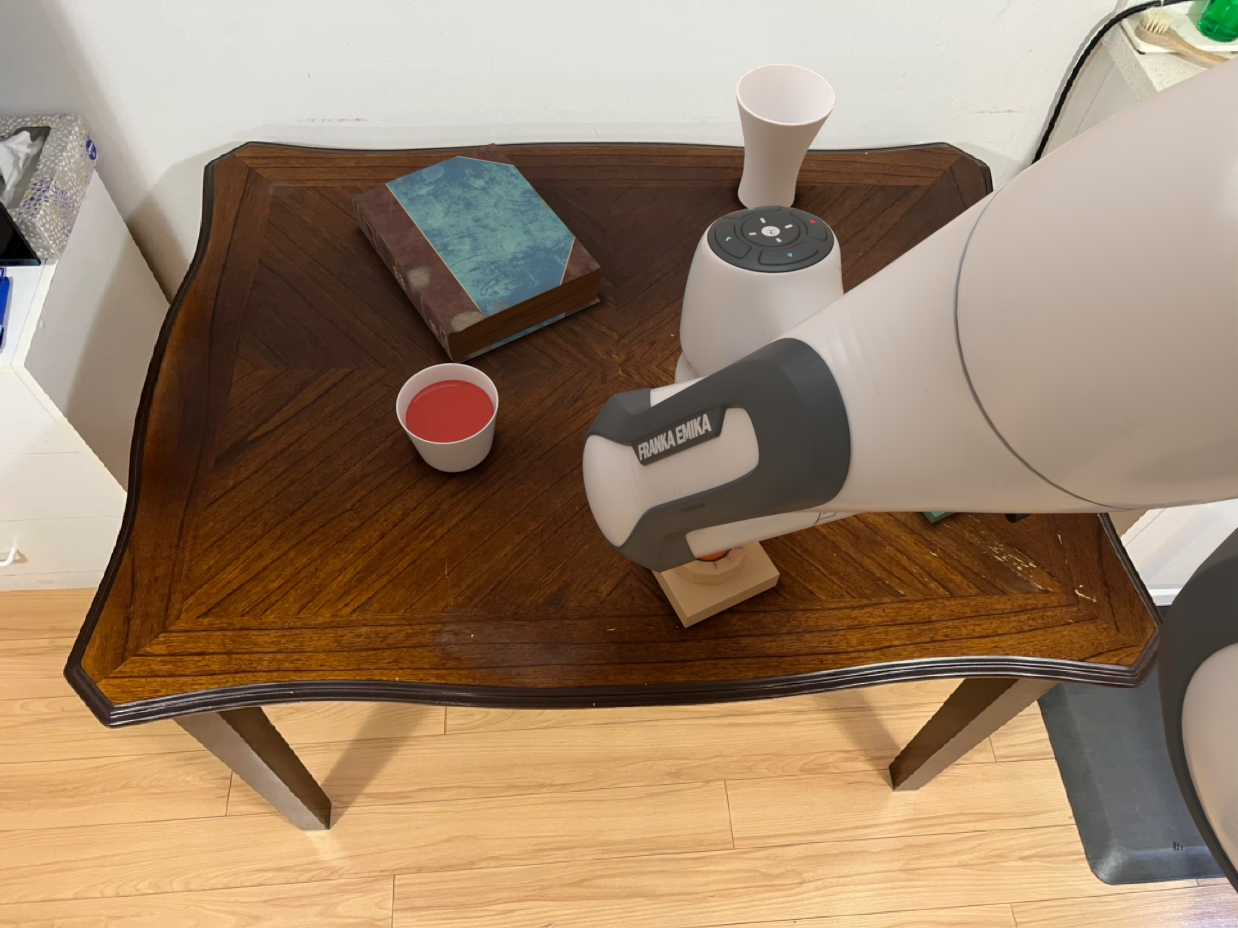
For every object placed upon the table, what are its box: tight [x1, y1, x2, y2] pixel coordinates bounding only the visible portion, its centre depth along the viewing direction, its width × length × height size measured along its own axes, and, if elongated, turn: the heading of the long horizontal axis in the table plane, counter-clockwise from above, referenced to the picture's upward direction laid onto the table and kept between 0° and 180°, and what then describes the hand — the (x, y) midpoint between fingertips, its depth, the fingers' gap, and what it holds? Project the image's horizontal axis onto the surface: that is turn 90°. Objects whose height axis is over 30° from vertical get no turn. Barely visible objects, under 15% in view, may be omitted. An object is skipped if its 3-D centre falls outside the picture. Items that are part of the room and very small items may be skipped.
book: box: [350, 142, 602, 364], centre depth 101 cm, size 23×18×5 cm
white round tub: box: [395, 362, 499, 473], centre depth 87 cm, size 9×9×6 cm
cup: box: [735, 63, 837, 209], centre depth 104 cm, size 10×10×14 cm
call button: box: [651, 541, 781, 629], centre depth 82 cm, size 10×9×4 cm
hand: (715, 514), depth 76 cm, fingers closed
